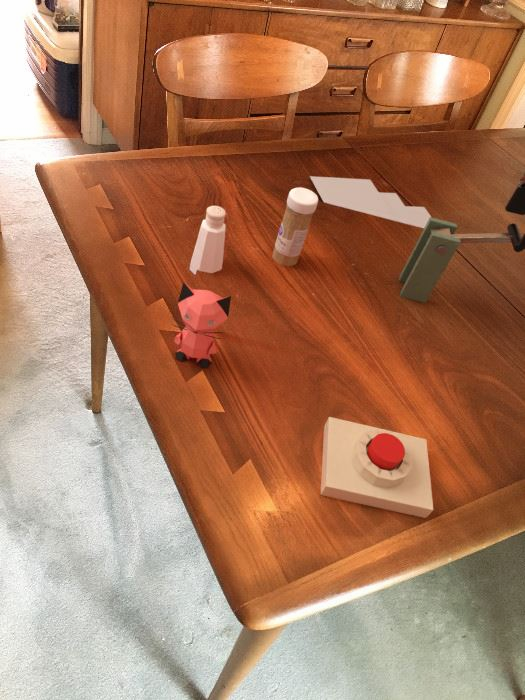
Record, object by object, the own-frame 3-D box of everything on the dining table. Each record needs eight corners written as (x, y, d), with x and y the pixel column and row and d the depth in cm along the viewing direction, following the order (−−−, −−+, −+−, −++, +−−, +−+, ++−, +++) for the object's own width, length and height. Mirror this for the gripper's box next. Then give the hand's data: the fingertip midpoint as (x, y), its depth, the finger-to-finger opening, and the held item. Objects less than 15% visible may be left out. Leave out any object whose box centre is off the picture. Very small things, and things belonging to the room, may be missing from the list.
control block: (419, 448, 73) (432, 431, 70) (425, 518, 66) (440, 503, 63) (324, 426, 72) (333, 408, 69) (320, 495, 65) (330, 478, 62)
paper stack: (407, 184, 120) (409, 181, 120) (462, 259, 105) (463, 256, 105) (308, 179, 113) (309, 176, 112) (351, 259, 97) (353, 256, 97)
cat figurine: (162, 365, 73) (170, 298, 64) (177, 329, 78) (186, 263, 69) (214, 379, 73) (229, 315, 64) (225, 343, 78) (241, 279, 69)
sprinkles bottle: (265, 257, 93) (284, 187, 83) (288, 254, 95) (310, 185, 85) (277, 275, 90) (298, 204, 81) (301, 271, 92) (324, 202, 83)
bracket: (439, 287, 98) (478, 222, 88) (444, 322, 91) (487, 256, 82) (374, 270, 97) (405, 203, 87) (375, 304, 91) (409, 236, 81)
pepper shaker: (212, 285, 85) (224, 226, 77) (182, 270, 86) (190, 210, 78) (228, 267, 89) (241, 209, 81) (199, 253, 90) (209, 194, 82)
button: (398, 444, 68) (404, 437, 66) (400, 473, 65) (406, 465, 64) (367, 437, 67) (372, 429, 66) (367, 465, 65) (372, 458, 63)
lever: (515, 233, 86) (518, 220, 85) (522, 254, 83) (526, 241, 81) (428, 235, 88) (429, 222, 87) (431, 256, 85) (432, 242, 83)
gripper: (644, 157, 64) (559, 271, 77) (599, 98, 76) (531, 205, 89) (583, 141, 64) (507, 258, 76) (547, 85, 76) (487, 194, 88)
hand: (520, 229), depth 82 cm, fingers open, 9 cm apart
